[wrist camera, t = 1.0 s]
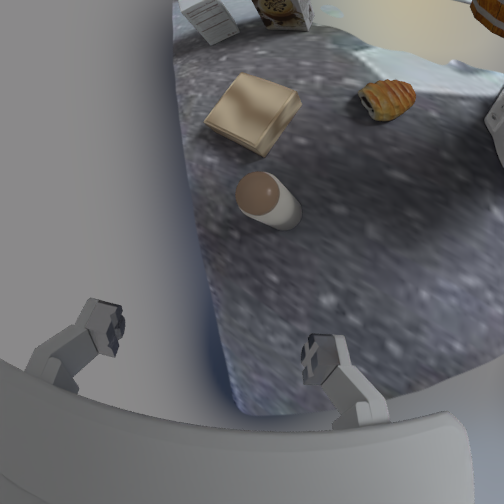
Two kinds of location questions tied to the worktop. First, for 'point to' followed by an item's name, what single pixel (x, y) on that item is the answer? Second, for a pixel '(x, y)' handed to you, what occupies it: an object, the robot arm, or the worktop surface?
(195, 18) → the supplement box
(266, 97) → the riser
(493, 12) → the mug
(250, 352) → the worktop surface
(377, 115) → the pastry
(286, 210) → the spice jar
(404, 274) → the worktop surface
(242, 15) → the worktop surface
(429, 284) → the worktop surface
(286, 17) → the coffee box
